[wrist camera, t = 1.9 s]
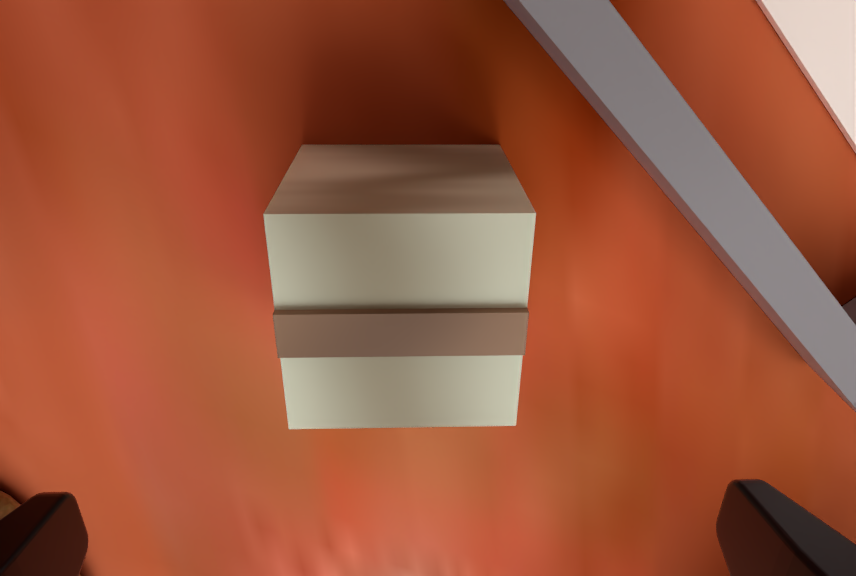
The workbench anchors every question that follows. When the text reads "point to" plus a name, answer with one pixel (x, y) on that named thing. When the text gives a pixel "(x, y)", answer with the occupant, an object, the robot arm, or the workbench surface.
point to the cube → (400, 285)
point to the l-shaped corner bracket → (720, 154)
